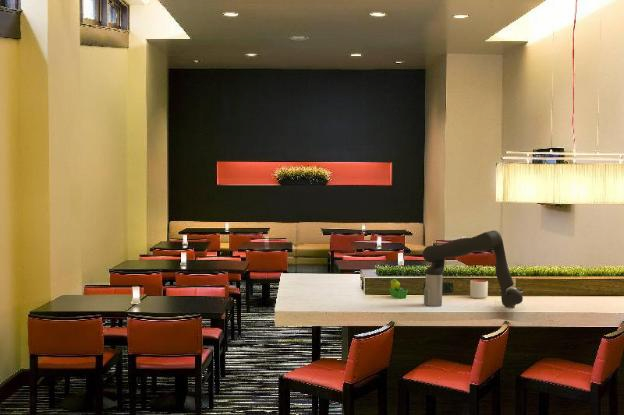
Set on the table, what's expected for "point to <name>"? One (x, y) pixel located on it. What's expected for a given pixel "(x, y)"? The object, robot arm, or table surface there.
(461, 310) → the table surface
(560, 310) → the table surface
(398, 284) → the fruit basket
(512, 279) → the block
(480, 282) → the cup
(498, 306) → the mat
